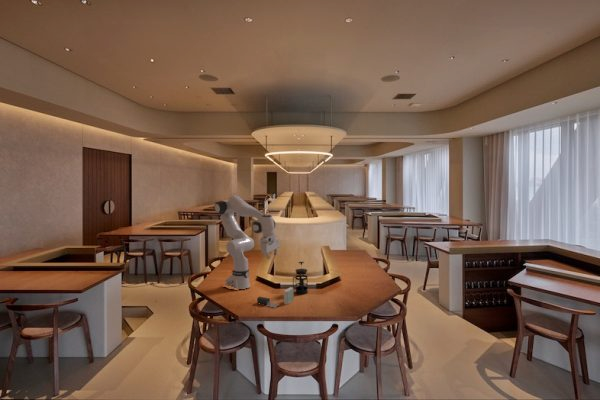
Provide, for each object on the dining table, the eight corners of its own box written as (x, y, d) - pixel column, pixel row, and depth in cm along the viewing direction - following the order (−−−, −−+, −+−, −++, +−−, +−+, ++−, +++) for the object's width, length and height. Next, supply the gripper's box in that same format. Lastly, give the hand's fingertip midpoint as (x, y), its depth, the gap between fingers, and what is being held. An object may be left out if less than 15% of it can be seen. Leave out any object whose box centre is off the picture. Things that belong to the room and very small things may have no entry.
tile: (283, 304, 209) (283, 291, 209) (290, 299, 217) (290, 287, 217) (287, 304, 208) (287, 291, 208) (293, 300, 216) (293, 287, 216)
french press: (307, 290, 238) (307, 260, 237) (309, 294, 228) (309, 263, 227) (292, 291, 236) (291, 261, 235) (294, 295, 226) (293, 264, 225)
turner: (256, 304, 209) (255, 298, 209) (261, 301, 214) (260, 295, 214) (275, 308, 202) (275, 302, 202) (279, 305, 208) (279, 299, 208)
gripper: (272, 235, 230) (275, 253, 230) (258, 240, 211) (260, 260, 212) (280, 234, 227) (282, 253, 228) (266, 240, 208) (268, 260, 209)
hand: (272, 256), depth 219 cm, fingers open, 8 cm apart
